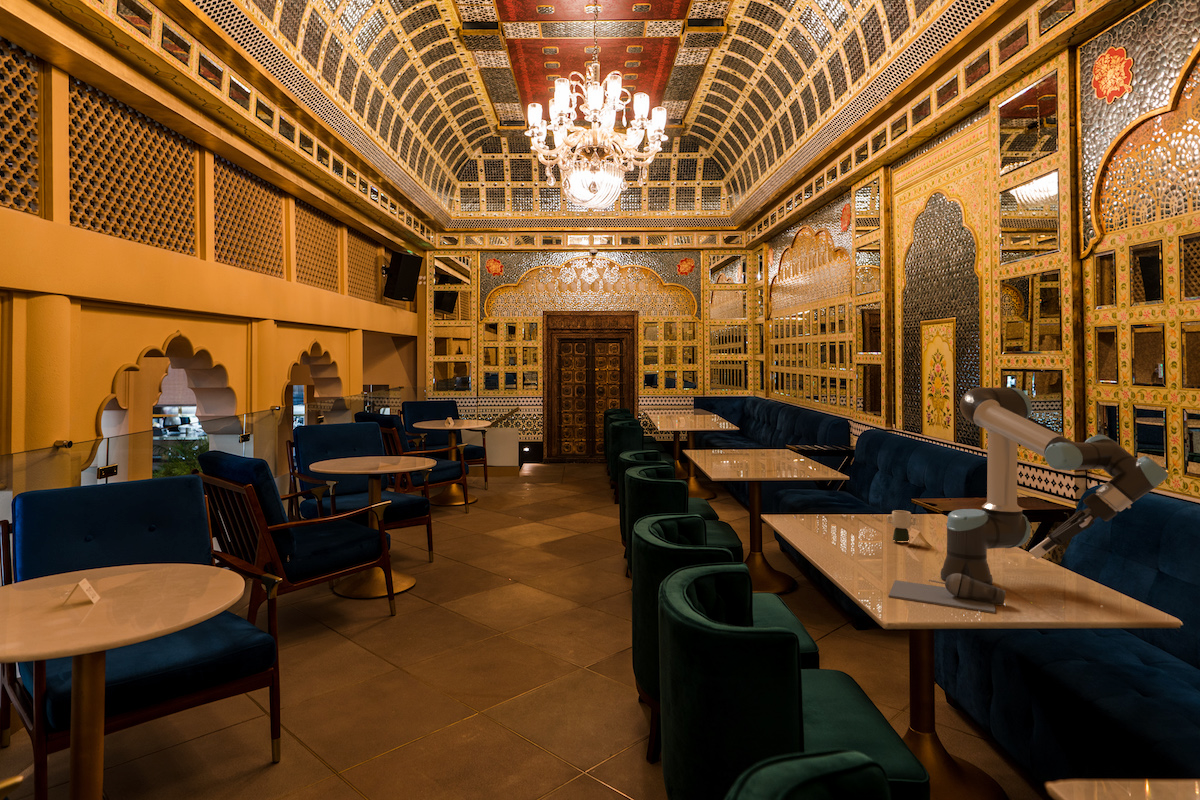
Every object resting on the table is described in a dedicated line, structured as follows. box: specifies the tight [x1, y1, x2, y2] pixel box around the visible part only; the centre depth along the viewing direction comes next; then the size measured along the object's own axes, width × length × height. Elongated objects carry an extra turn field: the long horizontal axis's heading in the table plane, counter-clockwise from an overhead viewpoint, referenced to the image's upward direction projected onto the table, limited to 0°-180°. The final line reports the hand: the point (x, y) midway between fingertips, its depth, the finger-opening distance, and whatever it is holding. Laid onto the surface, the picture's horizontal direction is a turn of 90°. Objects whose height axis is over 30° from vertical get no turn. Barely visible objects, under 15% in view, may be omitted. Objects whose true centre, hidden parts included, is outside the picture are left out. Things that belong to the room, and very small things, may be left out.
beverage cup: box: [928, 573, 1007, 606], centre depth 195 cm, size 7×7×20 cm
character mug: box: [886, 509, 917, 542], centre depth 267 cm, size 11×7×13 cm, turn 69°
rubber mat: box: [888, 579, 996, 614], centre depth 198 cm, size 28×18×1 cm, turn 60°
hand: (1033, 555), depth 185 cm, fingers closed
